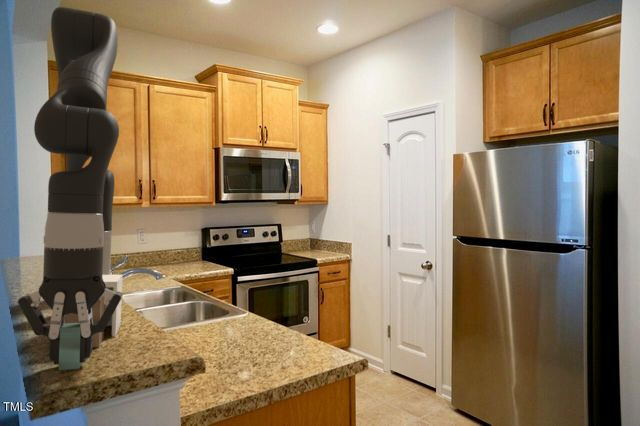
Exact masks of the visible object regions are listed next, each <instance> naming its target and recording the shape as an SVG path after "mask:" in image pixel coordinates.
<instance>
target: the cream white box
mask: <svg viewBox="0 0 640 426" xmlns="http://www.w3.org/2000/svg"><path fill="white" fill-rule="evenodd" d="M102 278H103V281H104V283H105V285H106V288H107V289H109V290H111V291H114V292H121V293H122V294H123V274H110V275H102ZM122 298H123V297H122ZM122 298H121V300H120V302H119V304H118V306H117V307H116V309H115V311H114V313H113V315H112V316H111V318H110V320H109V322H108V324H107V325H106V327H111V337H112V338H113V337H116V336H117V333H118V331H119V329H120V326H121V325H122V305H123V304H122V303H123V302H122V300H123V299H122ZM106 308H107V305H105V308H104V311H105V310H106ZM64 324H66V317H65V320H64ZM64 324H63V325H64Z"/></svg>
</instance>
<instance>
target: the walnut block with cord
mask: <svg viewBox="0 0 640 426" xmlns="http://www.w3.org/2000/svg"><path fill="white" fill-rule="evenodd" d="M104 300H105V297H104V296H103V295H102V296H101V297H100V298H99V299H98V301H97V302H96V303H95V304H94V305H93V307H92V320H93V324H94V323H97V322H99V320H100V319H101V317H102V315H103V313H104V308H105V304H104ZM104 331H105V330H104ZM104 331H103V332H98V333H96V334H94V335H93V342H92V349H93V348H99V347H100V346H101V343H102V342H103V340H104V334H105V332H104ZM81 337H82V335H81V327H80V322H79V317H78V314H73V313H69V314H66V324H64V325H63V326H62V327H61V328H60V344H59V364H58V371H66V370H67V371H68V370H78V369H80V368H81V367H82V365H83V363H80V338H81Z"/></svg>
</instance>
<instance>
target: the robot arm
mask: <svg viewBox="0 0 640 426" xmlns="http://www.w3.org/2000/svg"><path fill="white" fill-rule="evenodd" d="M51 14H52V15H51V18H50V29H51V30H50V31H51V39H52V40H51V41H52V47H53V53H54V57H55V58H54V59H55V64H56V70H57V77H58V84H57V88H56V92H55V93H53V95H51V96H50V98H48V99H47V100H46V101H45V103H44V104H43V105H42V106H41V107H40V109H39V111H38V112H37V114H36V117H35V120H34V126H33V130H34V131H33V132H34V136H35V139H36V141H37V143H38V144H39V146H40V147H41V148H43V150H45V151H47V152H49V153H52V154H56V155H57V154H58V155H65V163H66V164H65V165H66V167H65V168H66V169H65V170H63V171H57V172H54V173H52V174H51V175H50V177H49V178H48V189H47V193H48V194H47V195H48V197H47V215H46V221H45V226H44V236H43V244H44V246H43V247H44V248H43V250H44V251H43V269H42V270H43V272H42V273H43V274H42V277H43V279H42V282H41V284H40V285H39V287H38V290H36V291H34V292H31V293H26V294H23V296H21V297H19V299H18V301H17V304H18V305H19V308H20V309H21V311H22V313H23V315H24V316H25V318H26V320H27V322H28V324H29V326H30V328H31V329H32V331H33V333H34V335H36V336H38V337H40V336H43V337H47V338H48V340H49V352H48V353H49V354H48V356H49V357H48V358H49V360H50V361H51V362H53V365H55V366H56V365H59V344H60V328H61V327H62V326H63V324H64V320H65V317H66V314H69V313H73V314H78V317H79V322H80V327H81V335H82V337H81V338H80V363H82V364H84V363H86V362H87V359H90V357H91V354H92V353H93V348H92V342H93V335H94V334H96V333H98V332H103V331H105V329H106V328H107V326H106V325H107V324H108V322H109V320H110V318H111V316H112V315H113V313H114V311H115V309H116V307H117V306H118V304H119V302H120V300H121V298H123V292H122V293H121V292H114V291H111V290H109V289H107V288H106V285H105V283H104V281H103V278H102V275H111V260H112V259H111V257H112V231H113V230H112V228H113V223H112V222H113V206H114V205H113V204H114V195H115V194H114V193H115V175H114V173H113V171H111V170H109V165H110V162H111V160H112V157H113V153H114V151H115V149H116V147H117V144H118V141H119V137H120V127H119V123H118V121H117V118H116V117H115V115H114V114H112V113H111V112H110V111H108V109H107V103H108V101H107V100H108V85H109V79H110V78H111V75H112V72H113V69H114V66H115V62H116V58H117V54H118V30H117V29H118V28H117V25H116V23H115V21H114V19H112V18H111V17H110V16H108V15H105V14H102V13H98V12H92V11H87V10H82V9H77V8H72V7H66V6H65V7H64V6H58V7H56V8H55V9H54V10H53V11H52V13H51ZM88 160H90V161H89V163H87V164H86V162H88ZM85 164H86V165H85ZM102 295H103V296H104V297H105V300H104V304H105V305H107V308H106V310H105V311H104V313H103V315H102V317H101V319H100V320H99V322H97V323H94V324H93V320H92V307H93V305H94V304H95V303H96V302H97V301H98V299H99V298H100V297H101V296H102ZM41 298H42V300H43V301H44V302H45V303H46V305H48V307H49V308H50V309H51V311H52V313H51V318H50V324H49V323H48V321H47V319H46V318H45V316H44V314H43V312H42V310H41V309H40V305H41V302H42V301H41Z"/></svg>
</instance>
